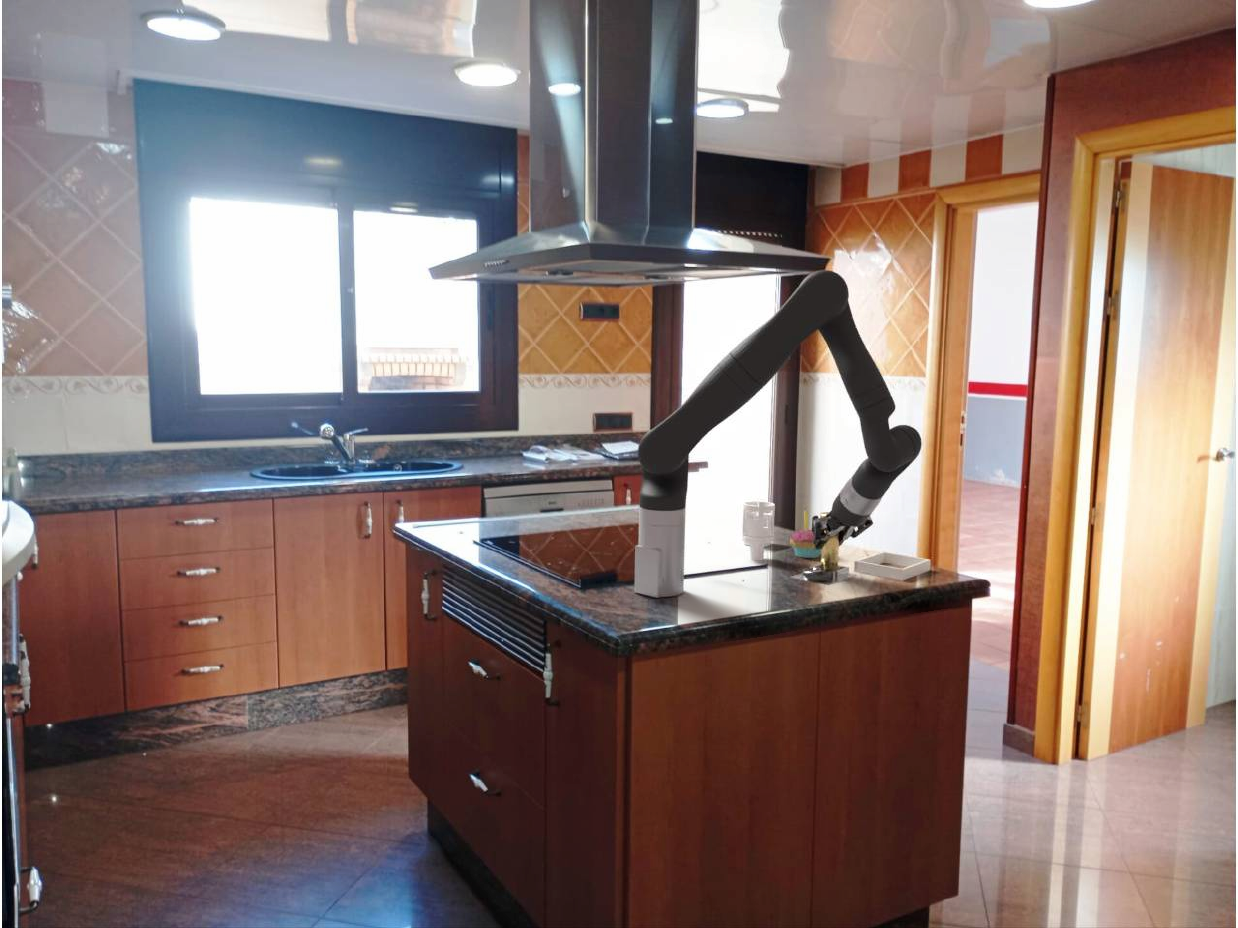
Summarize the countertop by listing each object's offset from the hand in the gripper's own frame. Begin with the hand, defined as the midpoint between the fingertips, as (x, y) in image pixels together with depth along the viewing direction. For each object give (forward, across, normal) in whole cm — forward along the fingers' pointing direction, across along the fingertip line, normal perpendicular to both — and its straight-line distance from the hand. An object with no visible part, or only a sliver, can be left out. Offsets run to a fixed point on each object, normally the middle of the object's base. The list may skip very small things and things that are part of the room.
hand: (825, 545), depth 210 cm
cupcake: (+16, -5, -6) cm, 18 cm away
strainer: (+16, +9, -6) cm, 19 cm away
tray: (+3, -15, +7) cm, 17 cm away
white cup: (+29, -1, -19) cm, 35 cm away
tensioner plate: (+3, +2, +7) cm, 8 cm away
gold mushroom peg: (+3, 0, +6) cm, 6 cm away
